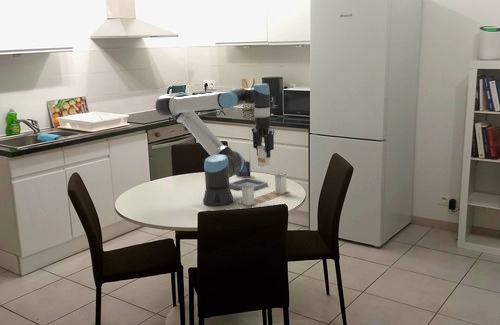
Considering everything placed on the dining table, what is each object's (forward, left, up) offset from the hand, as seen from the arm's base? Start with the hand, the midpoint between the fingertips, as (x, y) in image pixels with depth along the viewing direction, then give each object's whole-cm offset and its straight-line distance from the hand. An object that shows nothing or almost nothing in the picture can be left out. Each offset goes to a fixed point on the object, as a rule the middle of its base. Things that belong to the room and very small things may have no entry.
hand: (263, 163), depth 250 cm
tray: (+10, +22, -19) cm, 30 cm away
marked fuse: (0, 0, -1) cm, 1 cm away
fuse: (-12, 0, -18) cm, 22 cm away
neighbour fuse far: (+12, 0, -18) cm, 21 cm away
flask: (+26, +42, -19) cm, 53 cm away
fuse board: (0, 0, -19) cm, 19 cm away
